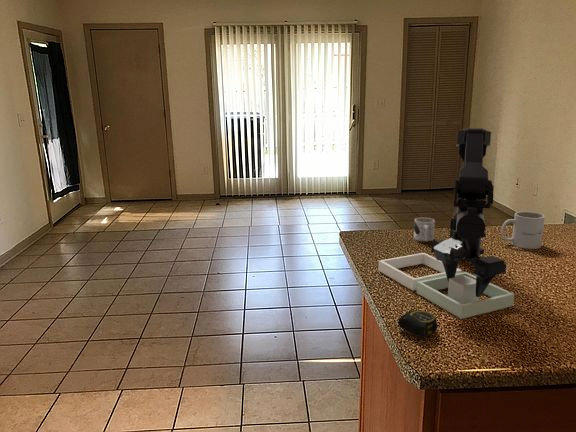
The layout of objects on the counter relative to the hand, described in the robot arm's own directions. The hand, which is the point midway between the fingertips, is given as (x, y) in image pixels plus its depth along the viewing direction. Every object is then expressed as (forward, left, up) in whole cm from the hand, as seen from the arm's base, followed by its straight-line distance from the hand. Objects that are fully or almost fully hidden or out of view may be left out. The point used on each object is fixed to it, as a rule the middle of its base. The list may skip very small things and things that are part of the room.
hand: (463, 289), depth 115 cm
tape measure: (+20, +9, -3) cm, 22 cm away
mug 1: (-22, -42, -3) cm, 47 cm away
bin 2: (0, 0, -2) cm, 2 cm away
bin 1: (0, -17, -2) cm, 17 cm away
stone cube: (0, 0, -3) cm, 3 cm away
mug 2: (-47, -25, -3) cm, 53 cm away
